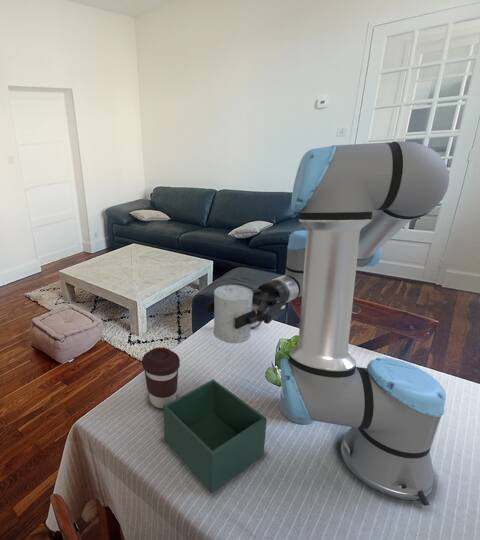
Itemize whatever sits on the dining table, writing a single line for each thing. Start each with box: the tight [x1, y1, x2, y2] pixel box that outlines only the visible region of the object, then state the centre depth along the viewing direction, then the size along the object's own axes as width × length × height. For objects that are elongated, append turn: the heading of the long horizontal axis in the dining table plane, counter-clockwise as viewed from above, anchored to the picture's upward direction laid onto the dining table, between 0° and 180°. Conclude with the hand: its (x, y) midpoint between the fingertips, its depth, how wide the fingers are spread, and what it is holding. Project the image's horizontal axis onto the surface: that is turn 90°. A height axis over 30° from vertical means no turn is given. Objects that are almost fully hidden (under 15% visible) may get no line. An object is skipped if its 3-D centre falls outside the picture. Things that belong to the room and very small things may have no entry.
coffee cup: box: [141, 346, 181, 409], centre depth 91 cm, size 10×10×15 cm
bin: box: [162, 379, 268, 494], centre depth 76 cm, size 16×16×11 cm
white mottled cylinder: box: [213, 284, 253, 344], centre depth 89 cm, size 10×10×12 cm
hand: (220, 315), depth 87 cm, fingers closed on white mottled cylinder, 9 cm apart
